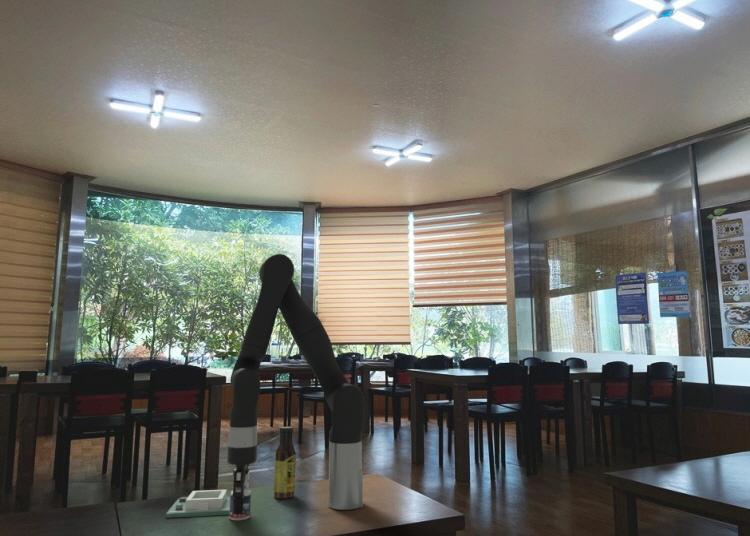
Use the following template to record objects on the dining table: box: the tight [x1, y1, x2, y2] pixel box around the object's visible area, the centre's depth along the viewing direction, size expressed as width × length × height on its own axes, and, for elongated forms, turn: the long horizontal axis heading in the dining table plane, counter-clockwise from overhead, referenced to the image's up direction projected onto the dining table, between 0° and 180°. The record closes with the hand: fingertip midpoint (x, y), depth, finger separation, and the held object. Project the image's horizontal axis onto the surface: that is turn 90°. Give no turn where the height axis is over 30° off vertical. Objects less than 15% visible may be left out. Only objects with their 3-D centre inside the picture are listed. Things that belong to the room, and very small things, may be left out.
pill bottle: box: [228, 480, 252, 522], centre depth 132 cm, size 5×5×9 cm
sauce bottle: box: [273, 426, 297, 500], centre depth 152 cm, size 6×6×20 cm
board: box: [165, 489, 230, 519], centre depth 140 cm, size 18×14×4 cm
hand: (240, 508), depth 131 cm, fingers open, 8 cm apart
